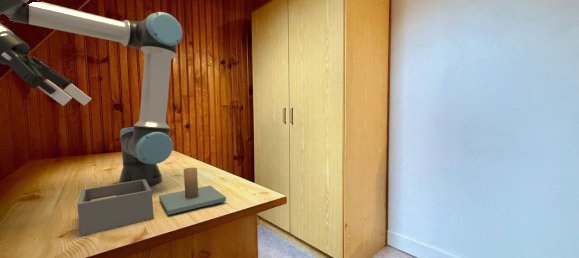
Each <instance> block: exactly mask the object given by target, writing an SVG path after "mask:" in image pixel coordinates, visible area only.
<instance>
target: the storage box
mask: <svg viewBox="0 0 579 258" xmlns="http://www.w3.org/2000/svg"><path fill="white" fill-rule="evenodd" d="M76 207H77V215H78V225H79V233H80V235H79V236H80V237H84V236H87V235H88V236H89V235H92V234H95V233H101V232H104V231H108V230H112V229H116V228H121V227H126V226H129V225H132V224H133V225H134V224H136V223H137V224H138V223H141V222H144V221H149V220H153V219H155V215H154V214H155V213H154V201H153V190H152V188H151V186H149V185H148V183H147V181H146V179H143V180H137V181H131V182H125V183H119V182H118V183H112V184H107V185H101V186H95V187H89V188H82V189H81V190H80V194H79V198H78V200H77V206H76Z"/></svg>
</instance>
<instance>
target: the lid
mask: <svg viewBox="0 0 579 258" xmlns="http://www.w3.org/2000/svg"><path fill="white" fill-rule="evenodd" d="M198 179H199V178H198V168H197V167H187V168H184V169H183V181H184V185H183V186H184V190H181V191H175V192H170V193H165V194H161V195H158V199H159V202H160V204H161V205H162V206H163V208H164V210H165V211H166V212H165V213H167V215H169V216H170V215H173V214H177V213H181V212H185V211H190V210H193V209H197V208H201V207H206V206H207V207H208V206H209V207H210V206H213V205H217V204H219V203H224V202H226V201H227V197H226V195H224V194H223V193H221V192H220V191H218V190H217V189H216V188H215V187H214V186H212V185H205V186H200V187H199V180H198Z"/></svg>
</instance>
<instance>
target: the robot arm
mask: <svg viewBox="0 0 579 258" xmlns="http://www.w3.org/2000/svg"><path fill="white" fill-rule="evenodd" d="M28 1H29V0H0V15H1V14H4V15H6V16H7V17H8V18H9V20H10V21H14V22H13V23H20V24H26V25H31V26H37V27H42V28H47V29H52V30H57V31H61V32H66V33H70V34H71V33H73V34H78V35H81V36H88V37H92V38H98V39H103V40H107V41H108V40H109V41H112V42H117V43H121V44H122V45H123V46H124V47H129V48H133V49H137V50H141V51H142V52H143V53H144V63H143V75H142V85H141V97H140V111H139V120H138V121H137V122H136V123H134V125H133V126H132V127H123V128H122V129H120V133H119V139H120V146H121V158H122V168H121V169H122V170H121V173H120V177H119V182H118V184H119V183H125V182H131V181H137V180H143V179H146V181H147V183H148V185H149V187H152V186H156V185H158V184H161V182H162V181H163V176H162V173H161V170H160V169H159V166H158V164H161V163H164V162H165V161H166V160H167V159H168V158H169V157H170V156H171V154H172V151H173V148H174V144H173V140H172V138H171V137H170V128H171V127H170V126H169V125H168V124H167V109H168V101H169V100H168V99H169V90H170V77H171V64H172V59H174V57H176V56H177V48H178V44H180V42H181V41H182V39H183V29H182V26H181V23H180V22H179V21H178V20H177V18H175V17H174V16H173V15H171V14H170V13H167V12H163V11H157V12H155V13H154V12H153V13H151V14H149V15H148V16H147V17H146V18H145V19H143V20H142V21H132V20H129V19H125V20H123V21H121V20H117V19H113V18H109V17H105V16H101V15H97V14H93V13H89V12H86V11H85V12H84V11H81V10H76V9H72V8H68V7H64V6H61V5H57V4H52V3H48V2H44V1H41V2H32V3H30V4H27V5H26V6H25V7H23V8H22V4H23V3H27V2H28ZM29 52H30V46H29V44H28V43H26V42H25V41H24V40H22V38H21V37H19V36H18V35H16V34H14V32H13V31H12V30H10V29H9V28H8V27H7V26H5V25H3V24H2V22H0V64H2V65H7V66H9V67H10V69H11V70H13V72H15V74H17V75H18V76H19V78H20V79H22V80H23V81H24V82H25V83H26V84H29V85H28V87H30V88H32V89H35V88H36V87H37V88H38V89H39V90H41V91H42V92H43V93H45V94H46V95H48V96H49V97H50V98H52V99H53V100H54V101H56V102H57V103H59V104H60V105H61V106H65V105H67V103H68V102H70V101H71V100H72V99H75V101H78V103H80V104H82V105H83V106H86V105H87V104H88V103H89V102H91V101H92V97H90V96H88V94H86V93H84V91H82V90H81V89H80V88H78V87H77V86H75V85H74V83H75V81H74V80H72V79H71V80H70V79H68V78H67V77H65V76H64V75H62V73H61V74H60V73H59V72H58V71H56V70H55V69H53V68H51V67H50V66H48V65H47V64H45V62H43V61H42V60H41V59H39V58H36V57H35V56H30V55H29Z"/></svg>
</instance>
